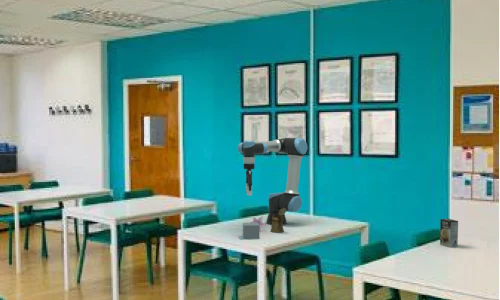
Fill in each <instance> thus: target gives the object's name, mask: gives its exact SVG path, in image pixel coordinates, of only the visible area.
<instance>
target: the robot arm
mask: <svg viewBox="0 0 500 300" xmlns="http://www.w3.org/2000/svg"><path fill="white" fill-rule="evenodd" d="M237 150H238V152H239V154H240V153H241V154H243V158H242V160H243V169H244V170H246V171H245V176H246V177H245V183H246V185H245V191H246V192H245V194H247V197H248V196H253V171H252V170H255V167H256V165H255V159H256V158H255V157H256V155H264V154H266V153H267V152H274V153H281V154H282V153H283V154H287V157H288V158H289V159H288V168H287V176H286V177H287V179H286V187H285V191H284V192H283V191H282V192H273V193H269V194H268V215H267V216H266V217H267V218H266V222H265V224H267V225H271V226H272V218H273V215H279V214H278V212H279V210H280V209H282V208H286V212H290V213H291V212H293V213H295V212H298V211H300V209H301V208H302V205H303V199H302V197H300V193H299V181H300V173H301V172H300V171H301V163H302V162H301V161H302V159H303V158H304V155H305V154H306V153H307V151H308V143H307V142H306V140H305V139H304V138H300V137H283V138H276V139H273V140H268V141H254V140H244V141H243V142H240V143H239V144H238V145H237ZM285 214H286V213H285ZM285 214H284V215H283V226H284V225H287V218H286V217H287V216H286V215H285Z"/></svg>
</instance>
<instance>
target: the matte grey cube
mask: <svg viewBox="0 0 500 300" xmlns="http://www.w3.org/2000/svg"><path fill="white" fill-rule="evenodd" d="M260 233H261V232H260V225H259V224H258V223H249V222H242V235H243V238H244V239H243V240H260V236H261V235H260ZM257 238H258V239H257Z"/></svg>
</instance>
